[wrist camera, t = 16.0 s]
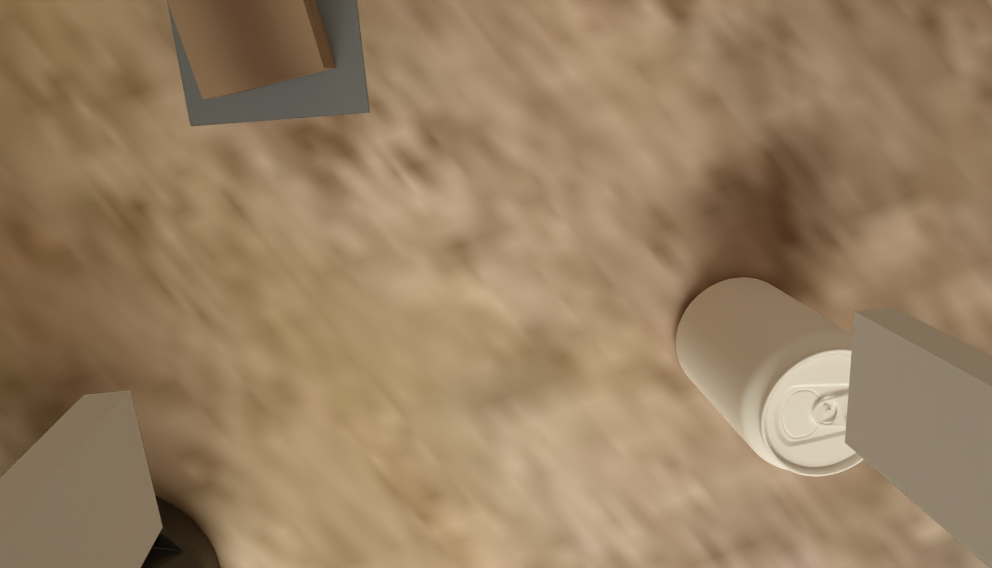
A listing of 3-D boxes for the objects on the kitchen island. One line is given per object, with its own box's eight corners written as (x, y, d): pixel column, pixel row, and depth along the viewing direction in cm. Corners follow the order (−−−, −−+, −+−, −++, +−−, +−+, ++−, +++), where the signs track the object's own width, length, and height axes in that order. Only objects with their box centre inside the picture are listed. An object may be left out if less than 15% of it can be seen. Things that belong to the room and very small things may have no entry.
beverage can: (671, 281, 47) (754, 349, 36) (791, 268, 48) (911, 331, 36) (672, 395, 49) (750, 494, 38) (787, 381, 50) (898, 474, 39)
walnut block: (232, 95, 41) (202, 99, 35) (193, -18, 39) (155, -32, 33) (336, 67, 41) (323, 68, 35) (302, -46, 39) (283, -65, 34)
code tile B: (192, 125, 42) (190, 126, 41) (156, -67, 39) (153, -69, 38) (369, 111, 42) (369, 112, 42) (347, -78, 39) (346, -79, 39)
